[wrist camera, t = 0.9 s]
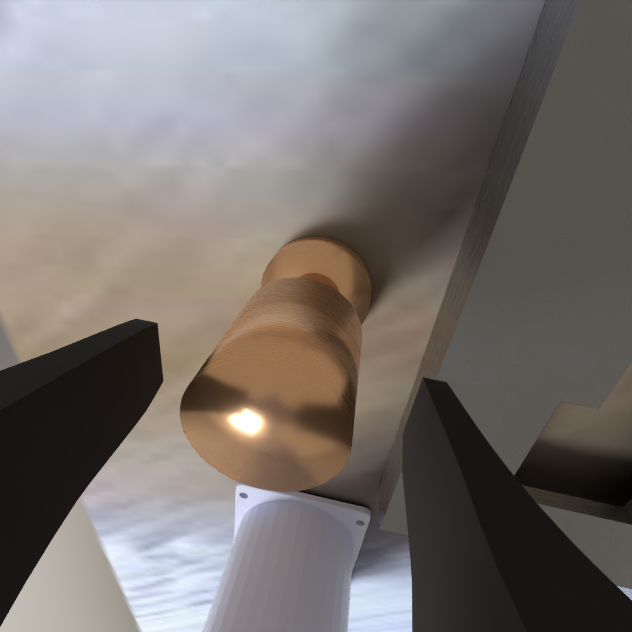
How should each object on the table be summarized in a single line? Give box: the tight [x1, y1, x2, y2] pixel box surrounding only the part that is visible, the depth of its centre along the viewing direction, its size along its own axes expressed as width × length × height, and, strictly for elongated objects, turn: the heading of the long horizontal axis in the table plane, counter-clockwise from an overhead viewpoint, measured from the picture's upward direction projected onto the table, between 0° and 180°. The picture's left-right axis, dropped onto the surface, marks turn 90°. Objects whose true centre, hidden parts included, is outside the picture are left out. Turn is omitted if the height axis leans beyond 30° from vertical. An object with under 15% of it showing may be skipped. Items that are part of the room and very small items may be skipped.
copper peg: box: [180, 236, 372, 492], centre depth 12 cm, size 4×4×8 cm
